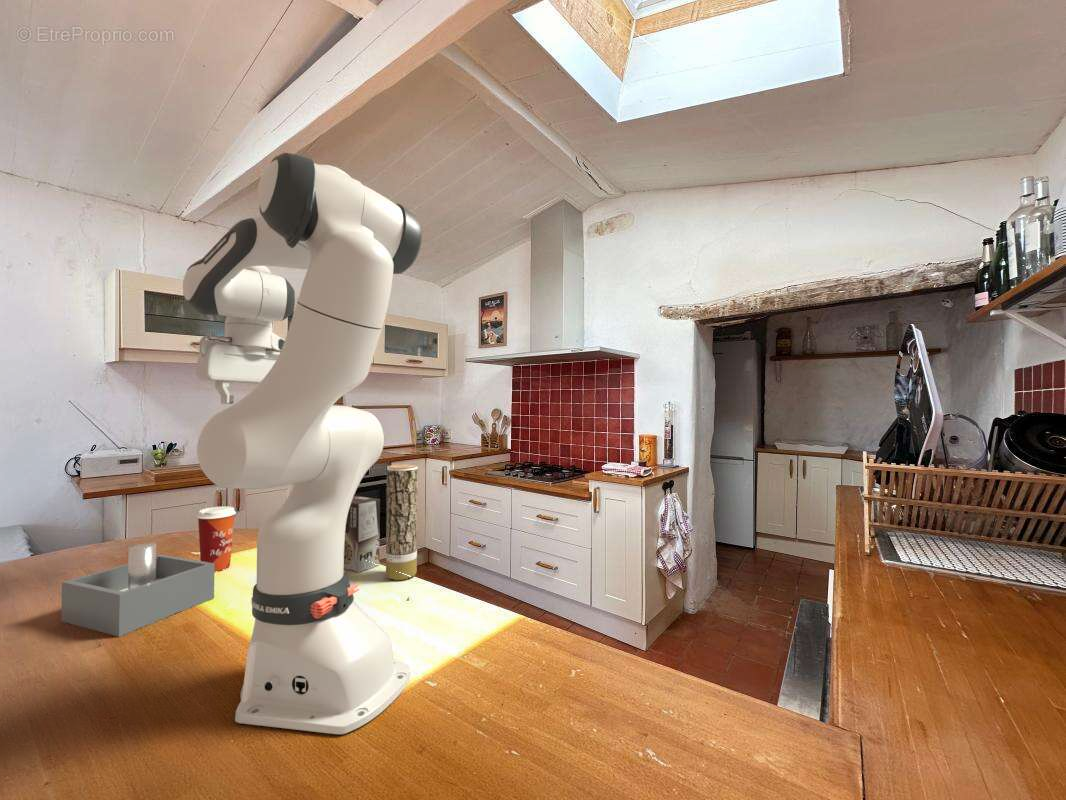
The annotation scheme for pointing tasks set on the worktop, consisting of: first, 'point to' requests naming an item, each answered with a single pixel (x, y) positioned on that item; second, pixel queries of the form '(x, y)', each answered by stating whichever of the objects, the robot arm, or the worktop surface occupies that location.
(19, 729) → the worktop surface
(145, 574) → the peg
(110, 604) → the box
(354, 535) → the coffee box
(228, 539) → the paper cup
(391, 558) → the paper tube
